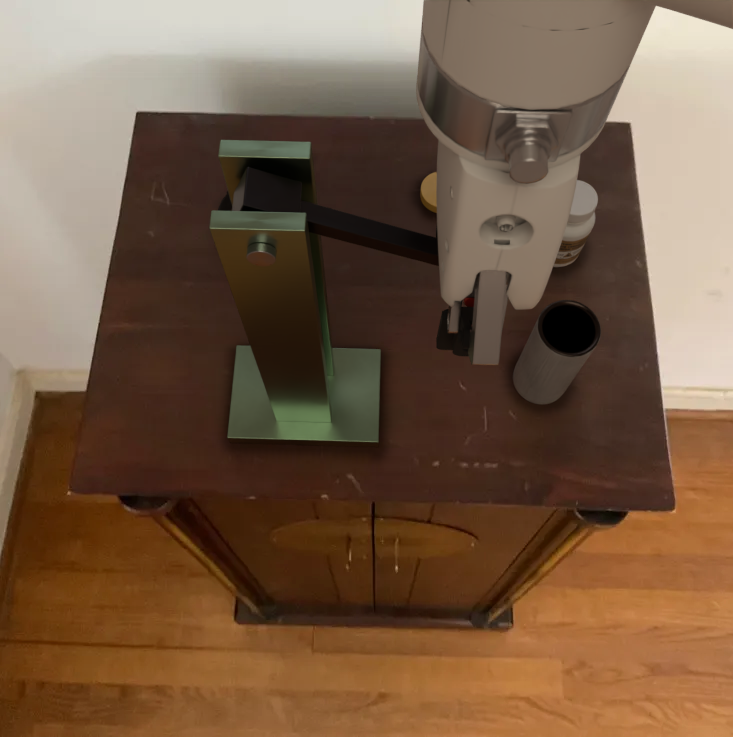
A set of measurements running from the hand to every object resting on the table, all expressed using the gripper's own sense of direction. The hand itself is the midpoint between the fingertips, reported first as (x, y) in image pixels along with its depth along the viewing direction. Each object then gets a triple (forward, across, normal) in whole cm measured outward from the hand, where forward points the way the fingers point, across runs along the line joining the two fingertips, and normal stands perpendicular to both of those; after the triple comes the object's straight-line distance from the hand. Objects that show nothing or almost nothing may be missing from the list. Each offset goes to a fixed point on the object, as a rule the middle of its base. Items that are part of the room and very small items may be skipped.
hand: (462, 289), depth 45 cm
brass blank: (+20, +20, -1) cm, 28 cm away
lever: (-5, 0, +6) cm, 8 cm away
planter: (+20, +2, -9) cm, 22 cm away
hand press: (+20, 0, +11) cm, 22 cm away
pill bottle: (+20, +15, -11) cm, 27 cm away
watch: (+20, +18, +17) cm, 32 cm away
